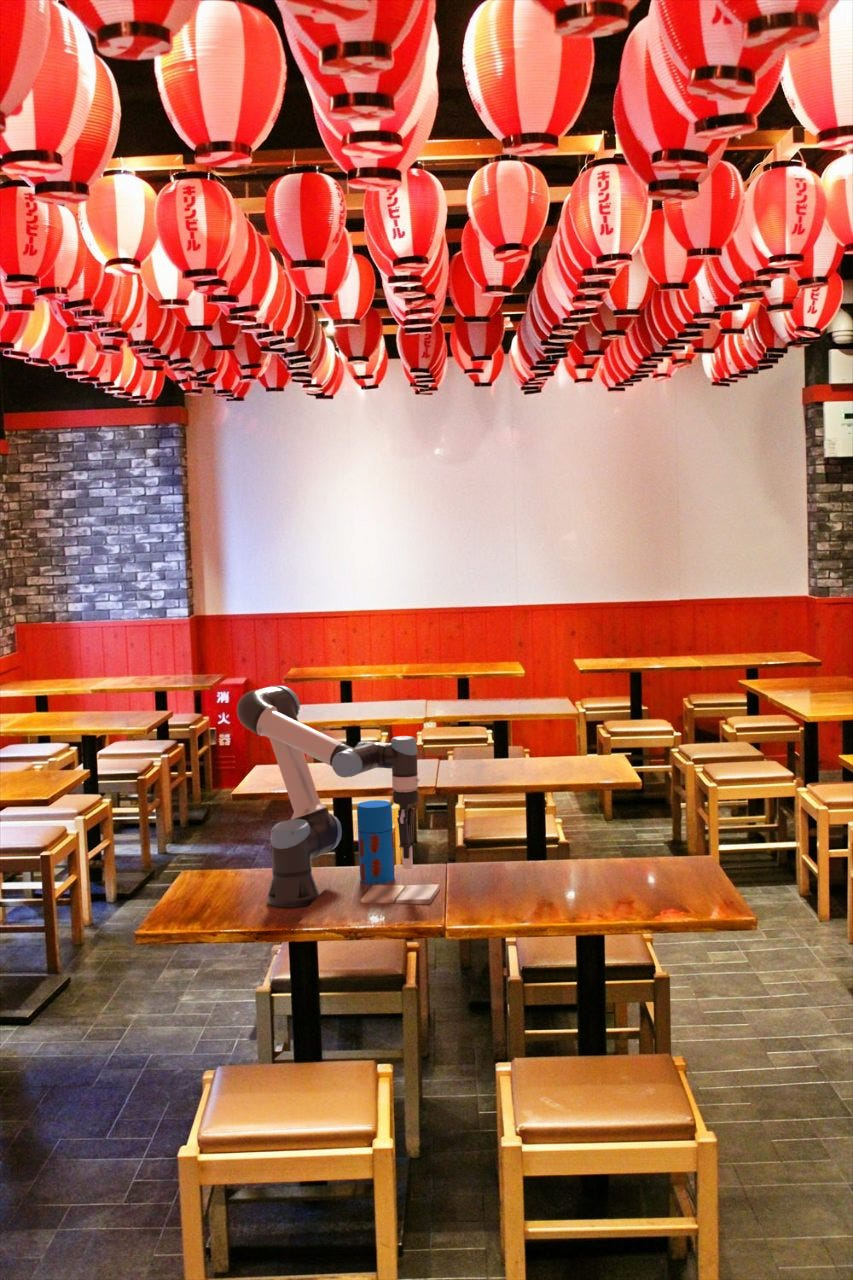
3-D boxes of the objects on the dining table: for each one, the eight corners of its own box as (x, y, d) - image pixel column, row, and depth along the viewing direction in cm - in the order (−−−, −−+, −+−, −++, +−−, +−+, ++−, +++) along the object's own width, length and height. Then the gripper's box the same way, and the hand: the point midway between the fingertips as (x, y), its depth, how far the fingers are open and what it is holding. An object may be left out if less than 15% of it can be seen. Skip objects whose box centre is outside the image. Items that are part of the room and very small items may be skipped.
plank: (396, 906, 345) (395, 900, 345) (407, 891, 360) (407, 885, 360) (430, 905, 343) (429, 899, 343) (439, 890, 358) (439, 884, 358)
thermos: (394, 887, 366) (390, 807, 364) (359, 888, 366) (355, 808, 364) (395, 877, 377) (392, 799, 375) (361, 878, 377) (358, 800, 375)
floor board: (360, 907, 347) (360, 900, 347) (373, 891, 363) (373, 884, 362) (431, 908, 343) (430, 901, 343) (441, 892, 358) (441, 885, 358)
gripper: (413, 794, 342) (415, 874, 344) (422, 784, 355) (424, 862, 357) (387, 793, 344) (390, 873, 346) (397, 784, 357) (400, 861, 359)
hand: (407, 868), depth 352 cm, fingers closed
